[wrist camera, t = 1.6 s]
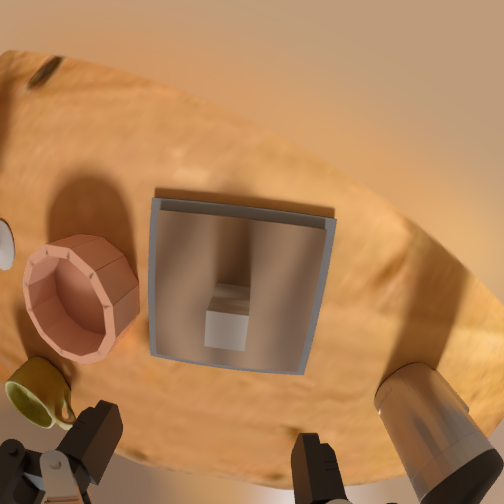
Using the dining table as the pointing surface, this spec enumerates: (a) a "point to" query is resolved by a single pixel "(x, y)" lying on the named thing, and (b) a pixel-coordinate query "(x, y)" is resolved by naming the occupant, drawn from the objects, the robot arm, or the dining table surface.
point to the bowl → (81, 296)
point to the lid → (234, 289)
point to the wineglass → (6, 247)
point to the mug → (40, 393)
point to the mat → (250, 214)
